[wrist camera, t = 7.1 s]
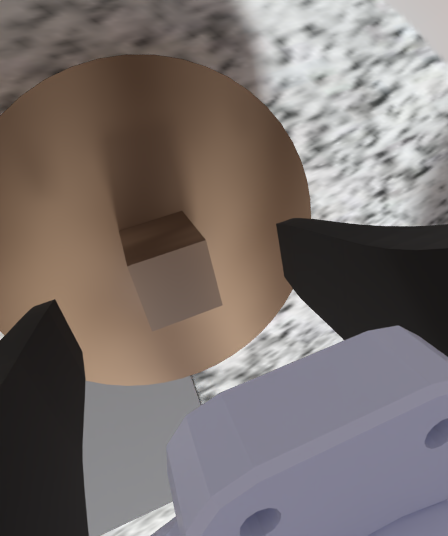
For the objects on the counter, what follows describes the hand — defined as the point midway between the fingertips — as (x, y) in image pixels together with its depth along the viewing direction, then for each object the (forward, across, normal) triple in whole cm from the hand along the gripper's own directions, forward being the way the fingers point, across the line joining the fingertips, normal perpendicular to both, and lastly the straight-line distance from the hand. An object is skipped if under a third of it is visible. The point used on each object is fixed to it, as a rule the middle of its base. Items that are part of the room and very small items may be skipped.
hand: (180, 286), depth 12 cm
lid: (+5, 0, 0) cm, 5 cm away
